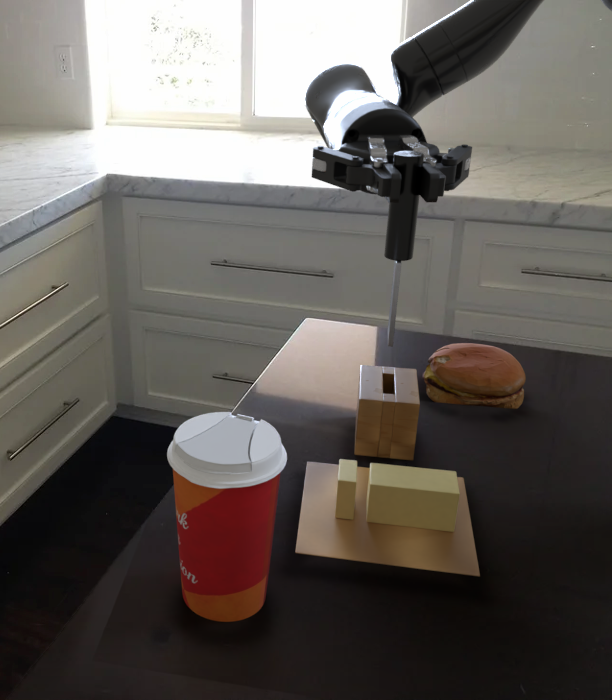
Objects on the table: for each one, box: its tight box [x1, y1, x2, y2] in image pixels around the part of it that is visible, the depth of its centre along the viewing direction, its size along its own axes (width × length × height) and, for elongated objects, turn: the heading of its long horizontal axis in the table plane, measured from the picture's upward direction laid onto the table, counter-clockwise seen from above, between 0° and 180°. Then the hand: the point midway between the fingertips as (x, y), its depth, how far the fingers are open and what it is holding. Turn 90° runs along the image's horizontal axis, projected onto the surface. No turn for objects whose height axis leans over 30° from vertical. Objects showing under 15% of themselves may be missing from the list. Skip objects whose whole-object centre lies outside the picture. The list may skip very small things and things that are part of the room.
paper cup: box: [166, 411, 288, 623], centre depth 58 cm, size 8×8×14 cm
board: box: [294, 461, 481, 577], centre depth 69 cm, size 13×13×2 cm
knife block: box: [353, 364, 421, 461], centre depth 78 cm, size 5×7×7 cm
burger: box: [421, 342, 527, 410], centre depth 88 cm, size 10×9×5 cm
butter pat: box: [335, 458, 358, 520], centre depth 68 cm, size 1×3×4 cm, turn 167°
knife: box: [383, 151, 424, 347], centre depth 69 cm, size 2×3×15 cm
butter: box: [366, 462, 460, 532], centre depth 67 cm, size 6×3×4 cm, turn 77°
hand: (415, 189), depth 64 cm, fingers closed on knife, 2 cm apart
